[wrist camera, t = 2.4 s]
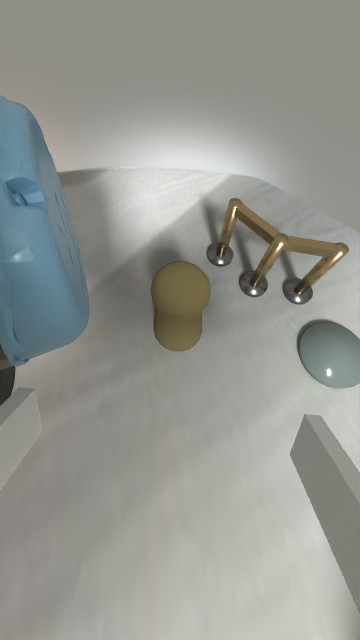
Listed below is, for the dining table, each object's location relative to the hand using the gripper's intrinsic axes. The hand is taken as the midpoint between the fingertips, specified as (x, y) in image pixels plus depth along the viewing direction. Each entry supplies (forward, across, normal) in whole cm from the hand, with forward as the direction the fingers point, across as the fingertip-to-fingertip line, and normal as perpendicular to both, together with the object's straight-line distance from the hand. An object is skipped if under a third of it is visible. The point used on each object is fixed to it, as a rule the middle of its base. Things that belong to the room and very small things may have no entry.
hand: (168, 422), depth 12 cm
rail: (+24, +10, +4) cm, 27 cm away
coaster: (+16, +19, -4) cm, 25 cm away
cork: (+18, 0, -3) cm, 18 cm away
